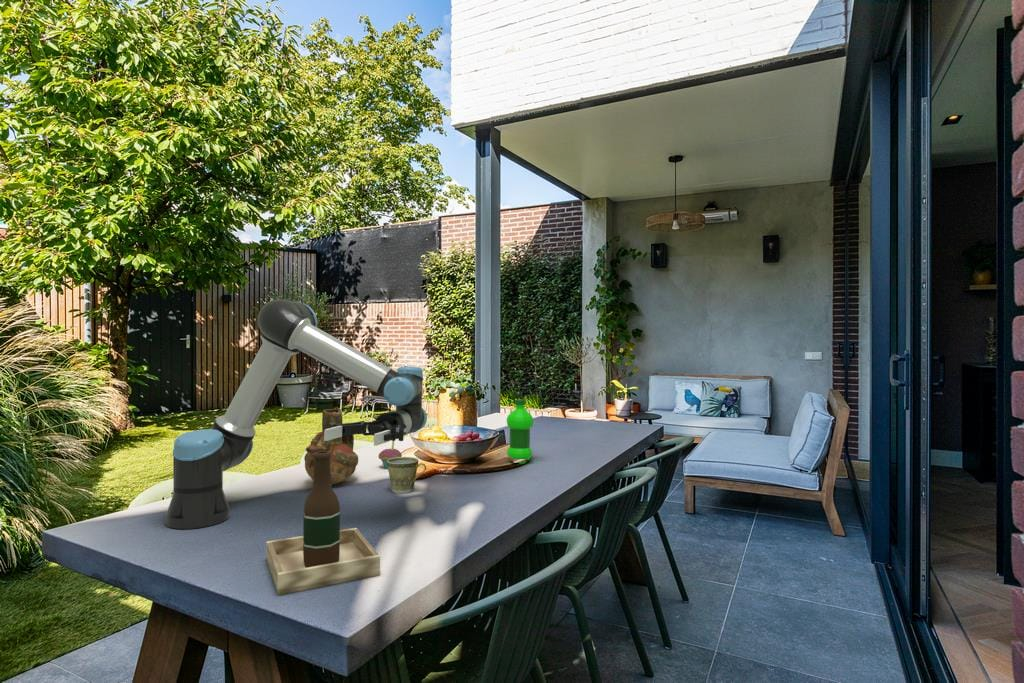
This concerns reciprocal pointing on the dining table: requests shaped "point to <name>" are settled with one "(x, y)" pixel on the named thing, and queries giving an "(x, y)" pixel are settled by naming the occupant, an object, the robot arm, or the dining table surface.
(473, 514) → the dining table surface
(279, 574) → the oak tray
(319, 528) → the beer bottle
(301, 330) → the robot arm
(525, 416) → the plastic bottle
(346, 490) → the dining table surface
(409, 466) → the ceramic cup
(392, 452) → the cupcake
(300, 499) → the dining table surface
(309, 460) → the ceramic vessel
